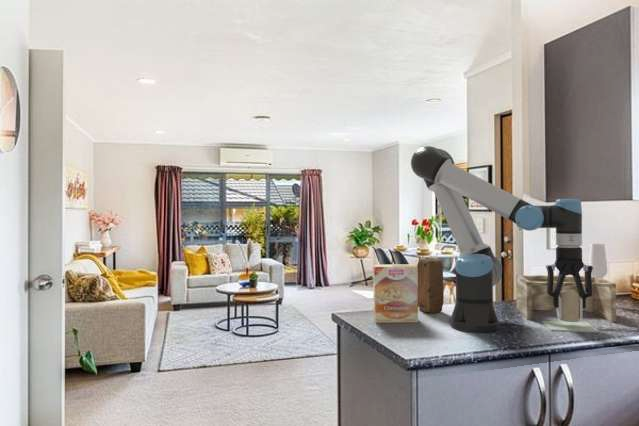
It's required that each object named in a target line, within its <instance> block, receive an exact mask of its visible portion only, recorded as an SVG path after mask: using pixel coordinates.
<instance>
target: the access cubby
mask: <svg viewBox="0 0 639 426" xmlns="http://www.w3.org/2000/svg"><path fill="white" fill-rule="evenodd" d="M547 278H548V274H545V275H544V274H543V275H541V274H539V275H538V274H516V276H515V281H516V282H515V283H516V286H515V287H516V290H515V291H516V295H515V296H516V309H517V311H518V312H519V313H520V314H521V315H522V316H523V317H524V318H525V320H531V321H532V319H533V317H532V316H533V315H532V313H533V310H535V311H538V310H539V311H557V308H555V307H554V305H553V296H550V295H548V294H547ZM557 279H558V275H555V274H554V279H553V292H554V289H555V286H556V283H557ZM580 279H581V282H582V285H583V288H584V291H585V275H580ZM591 280H592V296H591V297H587V298H586V307H585V308H583V312H591V313H592V312H594V313H595V314H597V316H600V317H601V318H603V319H604V320H606V321H608V322H610V323H616V322H617V299H616V298H617V291H616V290H617V289H616V288H617V287H616V284H617V283H614V282H613V281H610V280H607V279H605V278H600V277H597V276H591ZM565 289H570V290H575V291H576V292H577V293H578V294H579V292H578V289H577V286H576V283H575V280H574V277H573V275H566V277H565V279H564V282H563V285H562V288H561V291H560V293H561V292H562V291H564V290H565ZM585 293H586V292H585ZM559 297H560V295H559ZM579 297H580V295H579Z"/></svg>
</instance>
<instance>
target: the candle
mask: <svg viewBox="0 0 639 426" xmlns="http://www.w3.org/2000/svg"><path fill="white" fill-rule="evenodd" d="M560 298H561V306H562V318H559V320H560V321H561V322H580V319H579V294H578V293H577V292H576V291H575V290H570V289H565V290H564V291H562V292H561V293H560Z"/></svg>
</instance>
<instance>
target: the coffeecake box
mask: <svg viewBox="0 0 639 426" xmlns="http://www.w3.org/2000/svg"><path fill="white" fill-rule="evenodd" d="M372 269H373V271H372V272H373V274H372V277H373V283H372V285H373V289H372V290H373V291H372V292H373V293H372V294H373V320H374V323H376V324H380V323H381V324H385V323H387V324H388V323H391V324H392V323H396V324H397V323H404V324H405V323H419V307H418V267H417V264H414V263H413V264H411V263H410V264H405V263H404V264H403V263H401V264H400V263H399V264H389V263H388V264H385V263H384V264H381V263H380V264H372Z"/></svg>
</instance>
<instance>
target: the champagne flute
mask: <svg viewBox="0 0 639 426" xmlns="http://www.w3.org/2000/svg"><path fill="white" fill-rule="evenodd" d="M606 255H607V254H606V246H605V243H590V246H589V258H588V259H589V260H588V265H590V266H592V267H593V269H592V272H591V276H597V277H600V278H602V279H604V278H605V277H606V276H607V274H608V271H609V270H608V265H607V264H608V263H607V256H606Z"/></svg>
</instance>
